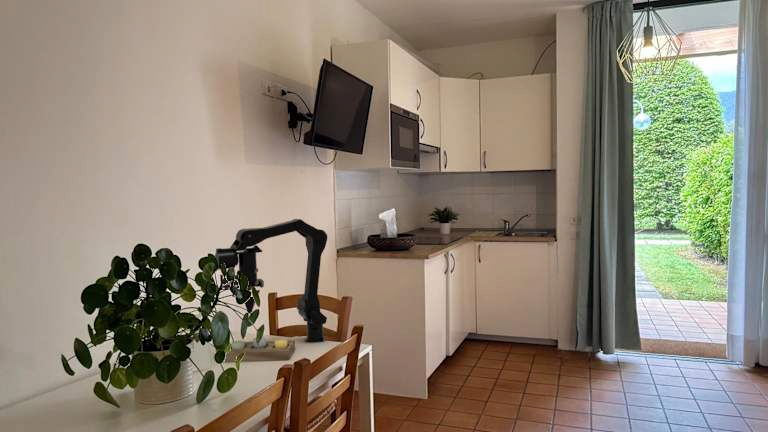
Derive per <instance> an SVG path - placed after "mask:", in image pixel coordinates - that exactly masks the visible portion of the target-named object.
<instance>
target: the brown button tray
mask: <svg viewBox="0 0 768 432" xmlns="http://www.w3.org/2000/svg"><path fill="white" fill-rule="evenodd" d="M286 340H287V348H275V341H276V340H266V348H262V349H253V341H244V346H245V348H244V349H232V342H231V343H230V344H231V351H230V352H229V353H227V354H226V359H225V362H224V363H236V362H235V360H236V356H237V355H239V354H241V353H242V352H245V355H244V357H243V359H242V360H241V361H249V362H271V361H272V362H273V361H290V360H291V358H292V356H293V355H294V352H295V350H296V341H295V339H294V340H293V339H292V340H290V339H289V340H288V339H286Z"/></svg>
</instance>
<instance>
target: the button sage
mask: <svg viewBox="0 0 768 432" xmlns="http://www.w3.org/2000/svg"><path fill="white" fill-rule="evenodd" d="M244 342H245V340H235V341H232V342H231V343H232V349H244V348H245V346H244Z"/></svg>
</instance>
